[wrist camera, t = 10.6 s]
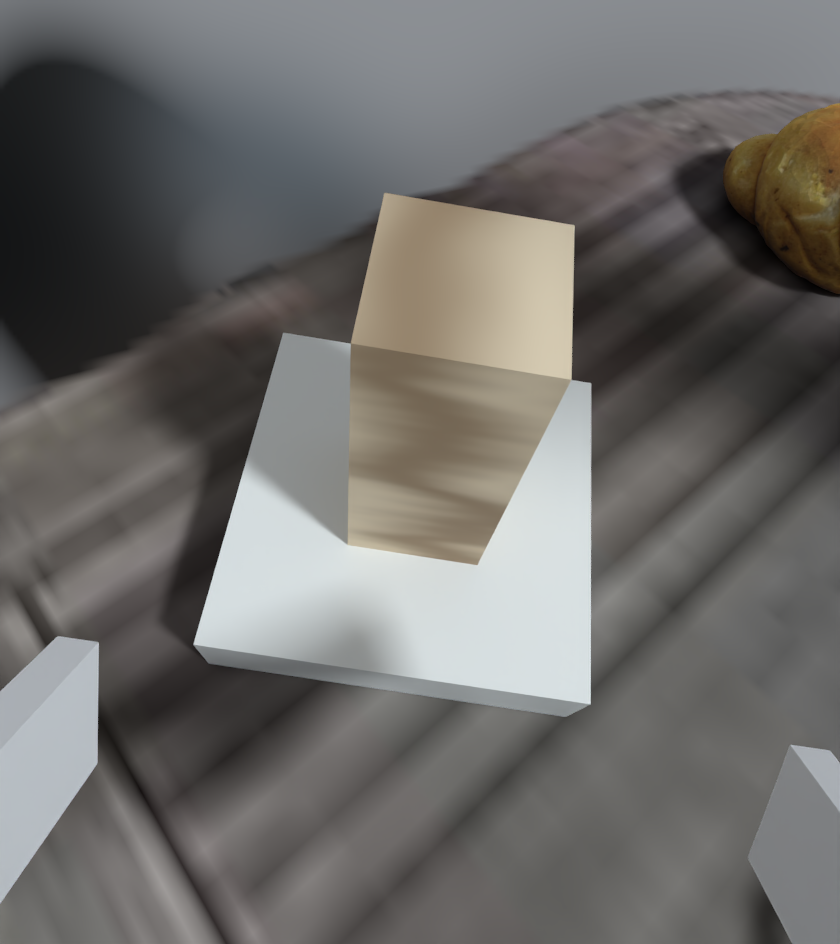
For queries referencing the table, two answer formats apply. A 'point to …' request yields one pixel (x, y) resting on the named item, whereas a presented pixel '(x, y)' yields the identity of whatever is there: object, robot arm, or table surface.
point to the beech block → (453, 372)
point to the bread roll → (794, 193)
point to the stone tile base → (400, 564)
